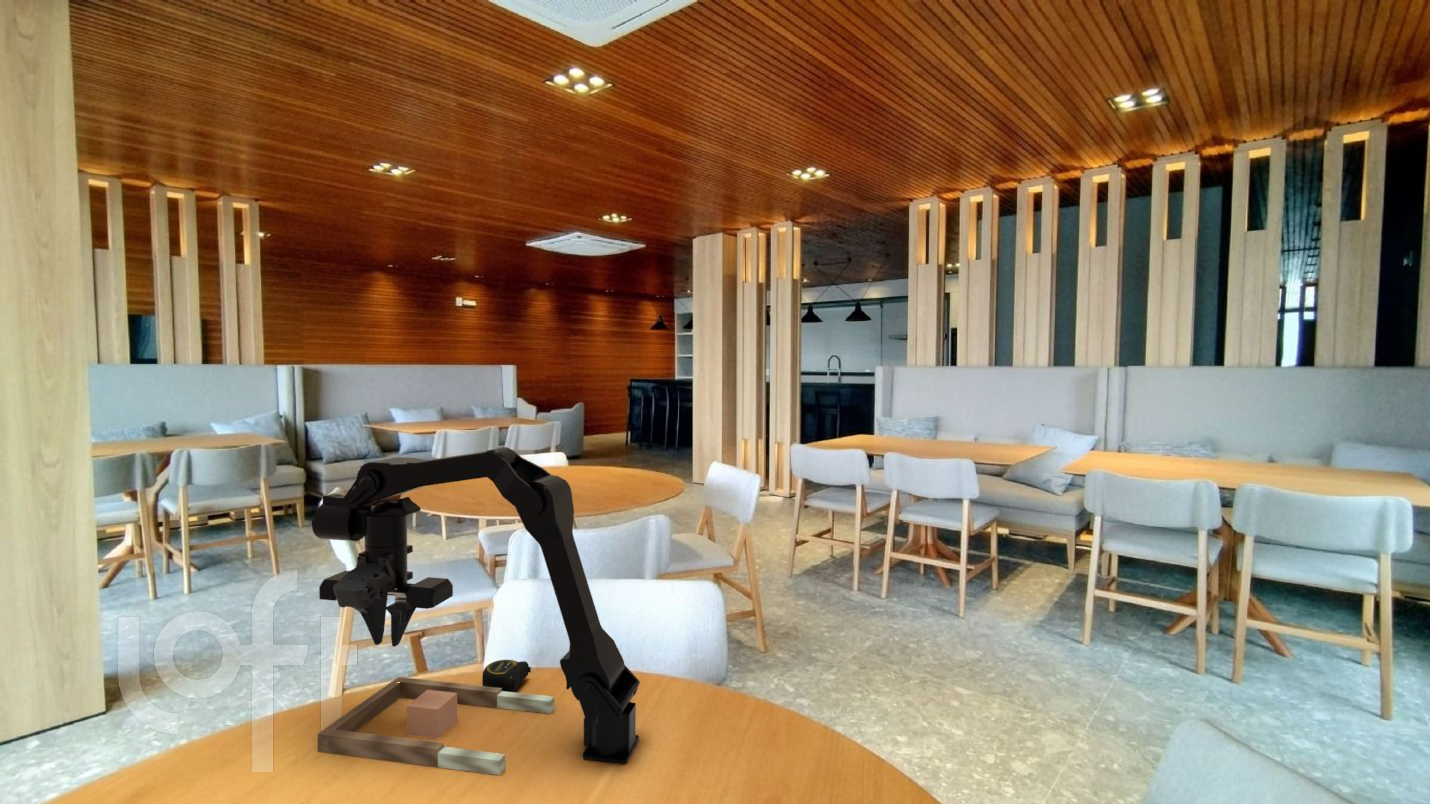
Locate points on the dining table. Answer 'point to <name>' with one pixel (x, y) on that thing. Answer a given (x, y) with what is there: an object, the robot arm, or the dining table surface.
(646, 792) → the dining table surface
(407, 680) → the bay
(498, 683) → the tape measure
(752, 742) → the dining table surface
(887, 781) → the dining table surface
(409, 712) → the block
